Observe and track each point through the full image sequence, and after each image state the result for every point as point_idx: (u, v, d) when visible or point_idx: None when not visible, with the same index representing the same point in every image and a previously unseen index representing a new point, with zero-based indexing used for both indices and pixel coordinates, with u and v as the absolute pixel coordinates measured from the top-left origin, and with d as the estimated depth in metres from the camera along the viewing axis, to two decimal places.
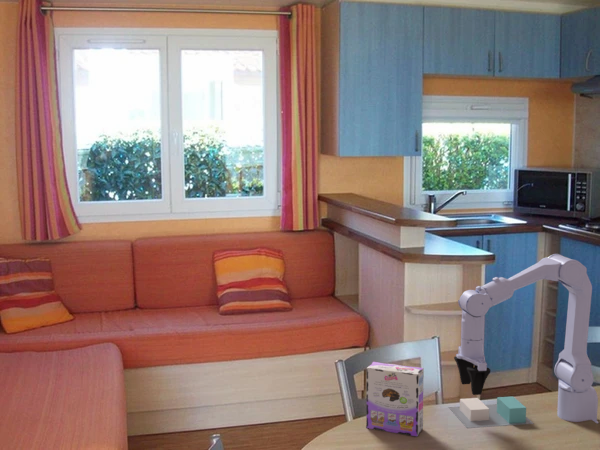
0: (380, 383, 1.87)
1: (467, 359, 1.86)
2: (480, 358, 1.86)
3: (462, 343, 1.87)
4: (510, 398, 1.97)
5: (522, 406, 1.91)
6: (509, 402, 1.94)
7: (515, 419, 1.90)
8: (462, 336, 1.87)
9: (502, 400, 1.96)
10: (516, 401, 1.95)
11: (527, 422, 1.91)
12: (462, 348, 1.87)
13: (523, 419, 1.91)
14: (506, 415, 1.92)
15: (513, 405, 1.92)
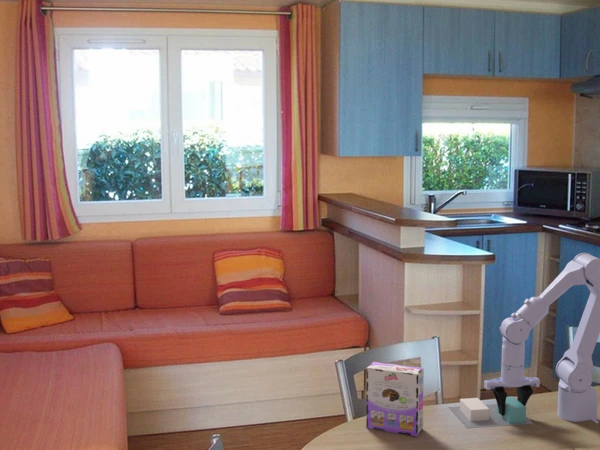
0: (380, 383, 1.87)
1: None
2: (503, 382, 1.92)
3: None
4: (510, 398, 1.97)
5: (522, 406, 1.91)
6: (509, 402, 1.94)
7: (515, 419, 1.90)
8: (502, 362, 1.92)
9: None
10: (516, 401, 1.95)
11: (527, 422, 1.91)
12: None
13: (523, 419, 1.91)
14: (506, 415, 1.92)
15: (513, 405, 1.92)
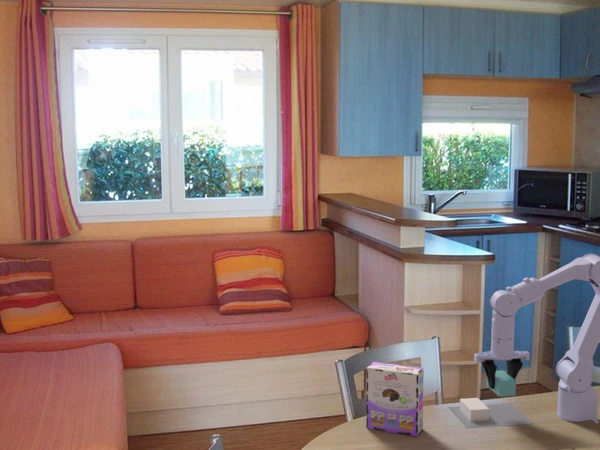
0: (380, 383, 1.87)
1: None
2: (493, 355, 1.91)
3: None
4: (500, 372, 1.97)
5: (512, 379, 1.91)
6: (499, 376, 1.93)
7: (504, 392, 1.90)
8: (492, 335, 1.92)
9: None
10: (506, 375, 1.94)
11: (527, 422, 1.91)
12: None
13: (513, 392, 1.90)
14: (496, 389, 1.91)
15: (503, 378, 1.92)
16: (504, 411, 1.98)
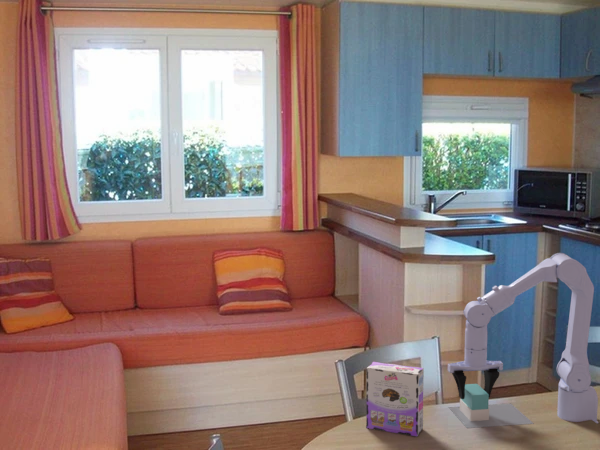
0: (380, 383, 1.87)
1: None
2: (466, 366, 1.93)
3: None
4: (474, 385, 1.98)
5: (485, 393, 1.93)
6: (472, 389, 1.95)
7: (477, 405, 1.92)
8: (465, 345, 1.94)
9: (466, 387, 1.97)
10: (479, 388, 1.96)
11: (527, 422, 1.91)
12: None
13: (486, 406, 1.92)
14: (469, 402, 1.93)
15: (476, 391, 1.94)
16: (504, 411, 1.98)
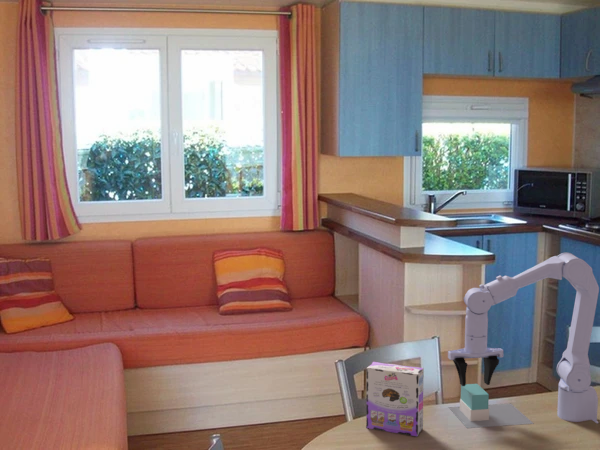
0: (380, 383, 1.87)
1: None
2: (466, 353, 1.92)
3: None
4: (474, 385, 1.98)
5: (485, 393, 1.93)
6: (472, 389, 1.95)
7: (477, 405, 1.92)
8: (465, 332, 1.93)
9: (466, 387, 1.97)
10: (479, 388, 1.96)
11: (527, 422, 1.91)
12: None
13: (486, 406, 1.92)
14: (469, 402, 1.93)
15: (476, 391, 1.94)
16: (504, 411, 1.98)
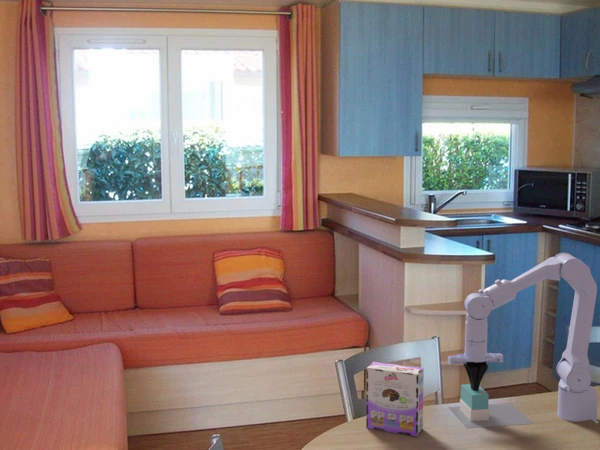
0: (380, 383, 1.87)
1: None
2: (466, 358, 1.93)
3: None
4: None
5: (485, 393, 1.93)
6: None
7: (477, 405, 1.92)
8: (465, 337, 1.93)
9: (466, 387, 1.97)
10: (479, 388, 1.96)
11: (527, 422, 1.91)
12: None
13: (486, 406, 1.92)
14: (469, 402, 1.93)
15: (476, 391, 1.94)
16: (504, 411, 1.98)
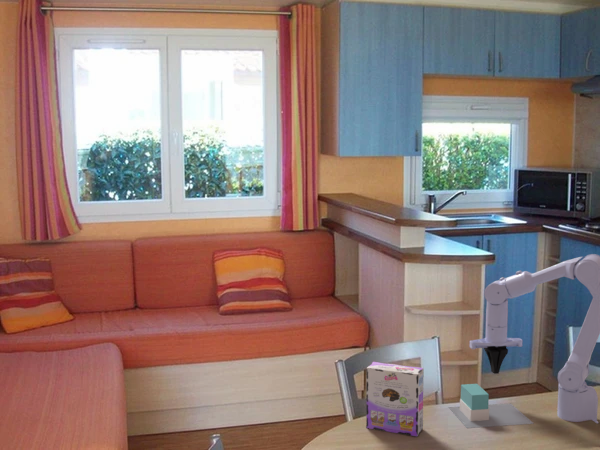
0: (380, 383, 1.87)
1: None
2: (487, 342, 2.02)
3: None
4: (474, 385, 1.98)
5: (485, 393, 1.93)
6: (472, 389, 1.95)
7: (477, 405, 1.92)
8: None
9: (466, 387, 1.97)
10: (479, 388, 1.96)
11: (527, 422, 1.91)
12: None
13: (486, 406, 1.92)
14: (469, 402, 1.93)
15: (476, 391, 1.94)
16: (504, 411, 1.98)
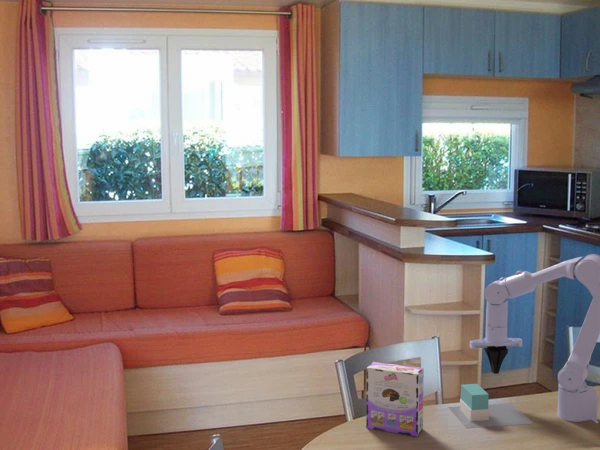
0: (380, 383, 1.87)
1: None
2: (487, 342, 2.02)
3: None
4: (474, 385, 1.98)
5: (485, 393, 1.93)
6: (472, 389, 1.95)
7: (477, 405, 1.92)
8: None
9: (466, 387, 1.97)
10: (479, 388, 1.96)
11: (527, 422, 1.91)
12: None
13: (486, 406, 1.92)
14: (469, 402, 1.93)
15: (476, 391, 1.94)
16: (504, 411, 1.98)
